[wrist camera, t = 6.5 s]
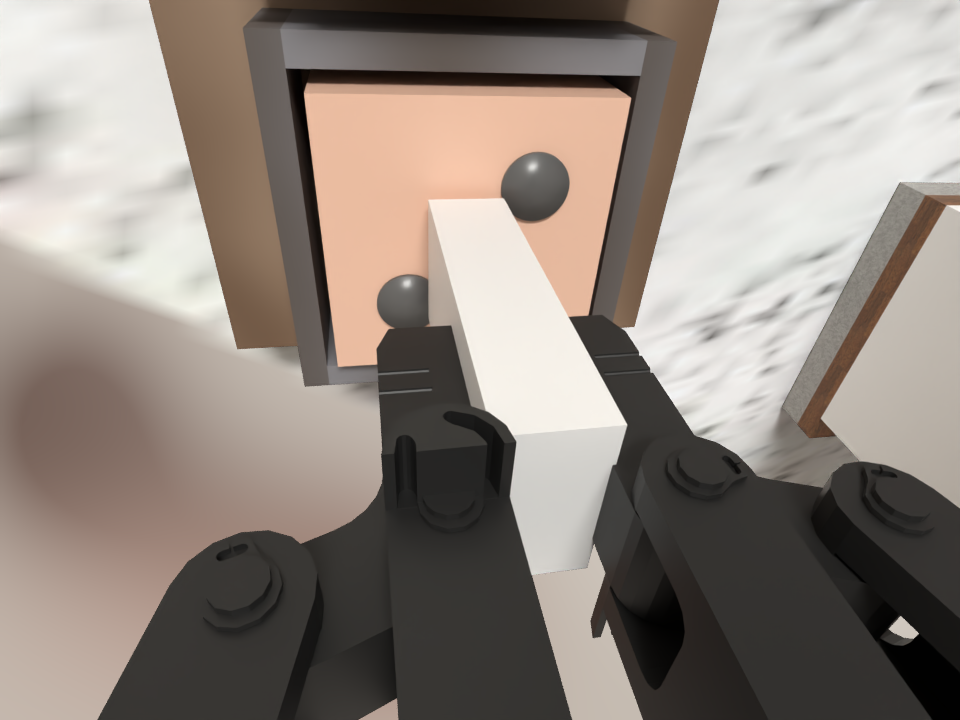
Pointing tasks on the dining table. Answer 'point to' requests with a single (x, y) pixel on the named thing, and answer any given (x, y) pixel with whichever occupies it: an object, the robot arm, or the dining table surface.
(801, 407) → the curved tiered shelf
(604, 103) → the button two dots
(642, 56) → the button panel
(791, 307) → the dining table surface
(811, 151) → the dining table surface
